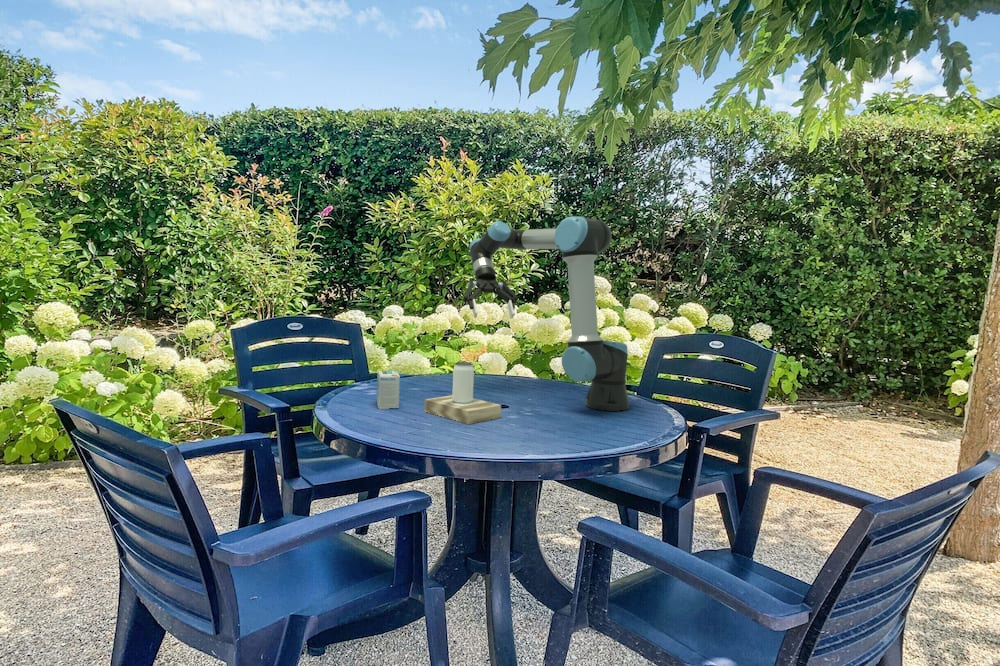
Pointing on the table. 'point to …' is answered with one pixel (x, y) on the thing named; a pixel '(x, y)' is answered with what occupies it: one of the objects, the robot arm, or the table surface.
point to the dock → (463, 409)
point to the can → (463, 383)
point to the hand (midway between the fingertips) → (494, 315)
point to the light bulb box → (388, 389)
